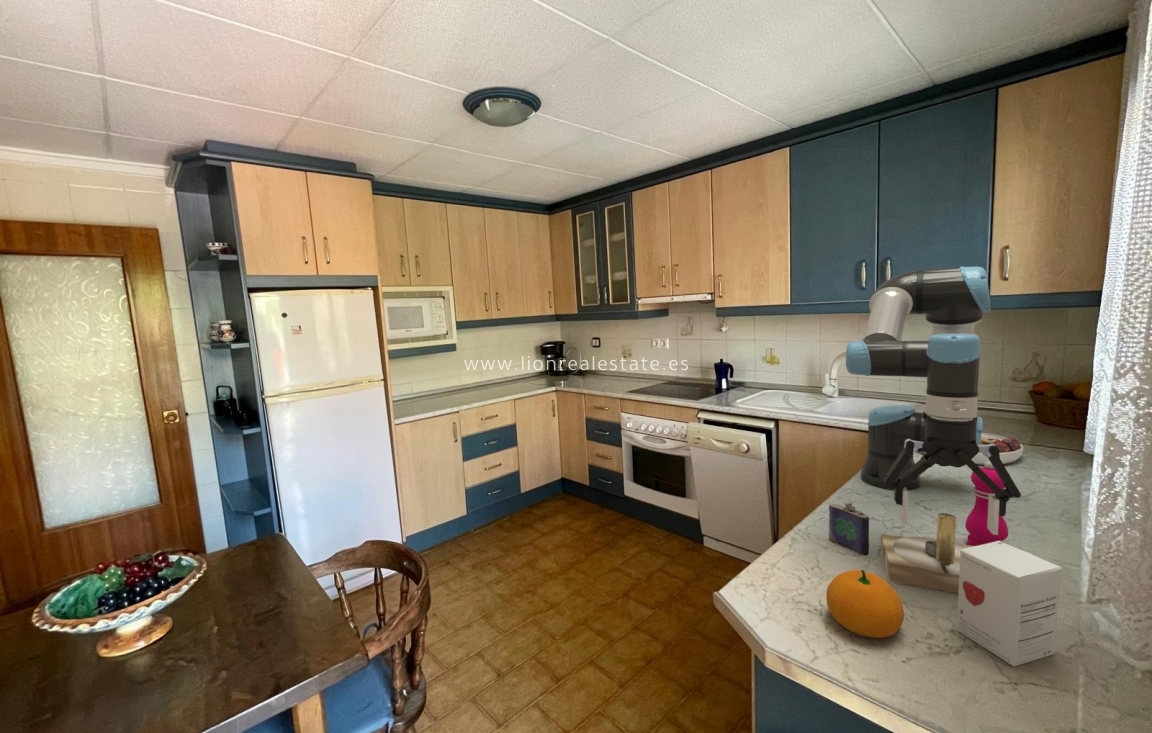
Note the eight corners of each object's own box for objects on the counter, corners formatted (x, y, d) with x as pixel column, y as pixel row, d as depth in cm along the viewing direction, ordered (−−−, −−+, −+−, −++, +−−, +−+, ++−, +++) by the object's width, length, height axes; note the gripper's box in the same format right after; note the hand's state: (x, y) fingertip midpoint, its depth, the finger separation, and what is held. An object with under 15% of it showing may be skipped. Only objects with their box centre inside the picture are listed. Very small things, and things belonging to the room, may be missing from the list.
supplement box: (953, 629, 80) (957, 547, 78) (994, 619, 82) (998, 538, 80) (1013, 668, 71) (1019, 577, 70) (1057, 655, 73) (1063, 566, 71)
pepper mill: (1015, 556, 100) (1020, 467, 98) (977, 554, 102) (981, 466, 99) (993, 539, 107) (997, 456, 105) (957, 538, 109) (960, 455, 107)
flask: (826, 539, 112) (826, 497, 111) (834, 536, 113) (834, 494, 112) (864, 557, 104) (865, 511, 102) (872, 553, 105) (873, 508, 104)
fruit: (813, 621, 84) (813, 569, 83) (844, 595, 91) (845, 547, 90) (885, 658, 75) (887, 600, 74) (915, 626, 81) (916, 573, 80)
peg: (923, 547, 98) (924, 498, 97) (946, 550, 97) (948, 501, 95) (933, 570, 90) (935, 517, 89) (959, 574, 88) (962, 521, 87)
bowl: (901, 456, 166) (902, 435, 165) (922, 437, 186) (922, 418, 185) (1017, 475, 144) (1018, 450, 143) (1026, 451, 163) (1027, 429, 162)
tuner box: (879, 548, 107) (880, 530, 106) (980, 562, 99) (981, 544, 98) (890, 584, 94) (890, 564, 93) (1007, 604, 86) (1008, 582, 85)
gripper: (874, 418, 89) (872, 524, 91) (1050, 425, 78) (1042, 546, 80) (869, 409, 96) (867, 508, 98) (1030, 415, 85) (1024, 527, 87)
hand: (946, 525), depth 89 cm, fingers open, 13 cm apart
